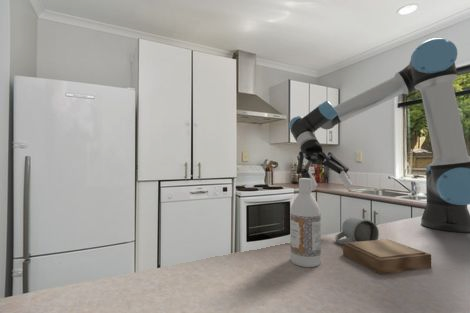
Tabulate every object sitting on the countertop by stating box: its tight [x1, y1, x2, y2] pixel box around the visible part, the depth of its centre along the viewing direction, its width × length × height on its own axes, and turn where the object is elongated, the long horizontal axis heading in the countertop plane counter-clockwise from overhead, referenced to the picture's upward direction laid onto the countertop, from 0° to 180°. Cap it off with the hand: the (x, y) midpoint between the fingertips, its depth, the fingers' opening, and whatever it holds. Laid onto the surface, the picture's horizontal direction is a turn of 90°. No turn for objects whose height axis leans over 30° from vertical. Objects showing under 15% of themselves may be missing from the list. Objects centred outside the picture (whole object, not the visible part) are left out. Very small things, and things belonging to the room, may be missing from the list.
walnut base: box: [342, 238, 432, 276], centre depth 62 cm, size 14×12×3 cm
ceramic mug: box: [334, 216, 380, 246], centre depth 76 cm, size 11×8×8 cm
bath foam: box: [290, 177, 322, 268], centre depth 61 cm, size 7×7×20 cm
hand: (332, 187), depth 86 cm, fingers open, 13 cm apart
